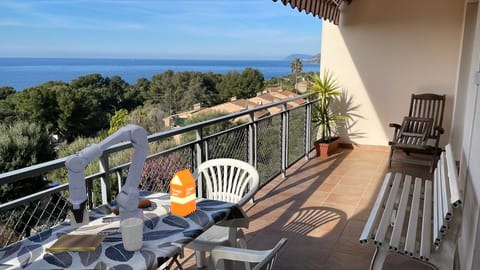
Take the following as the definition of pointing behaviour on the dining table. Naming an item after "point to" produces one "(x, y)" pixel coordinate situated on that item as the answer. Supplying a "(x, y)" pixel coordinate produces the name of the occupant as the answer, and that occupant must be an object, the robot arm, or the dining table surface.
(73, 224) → the carton
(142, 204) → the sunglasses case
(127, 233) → the white cup
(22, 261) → the dining table surface
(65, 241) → the shelf board
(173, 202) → the orange juice
